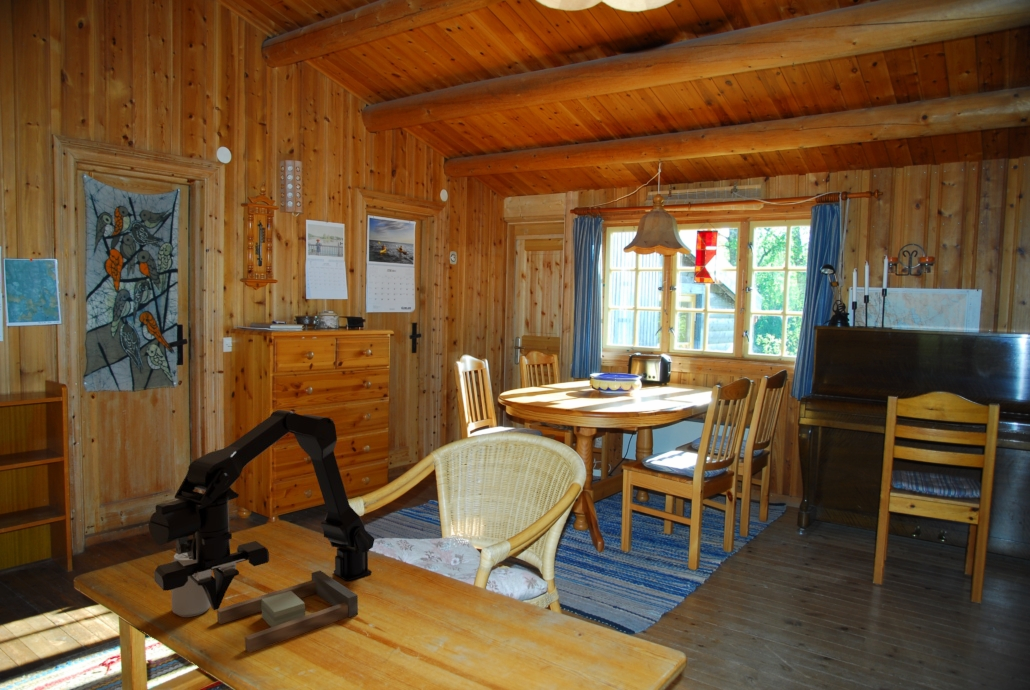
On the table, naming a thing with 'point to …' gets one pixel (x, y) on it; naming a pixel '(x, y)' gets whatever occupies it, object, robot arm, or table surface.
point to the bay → (321, 585)
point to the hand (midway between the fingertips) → (215, 608)
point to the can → (188, 593)
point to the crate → (282, 608)
